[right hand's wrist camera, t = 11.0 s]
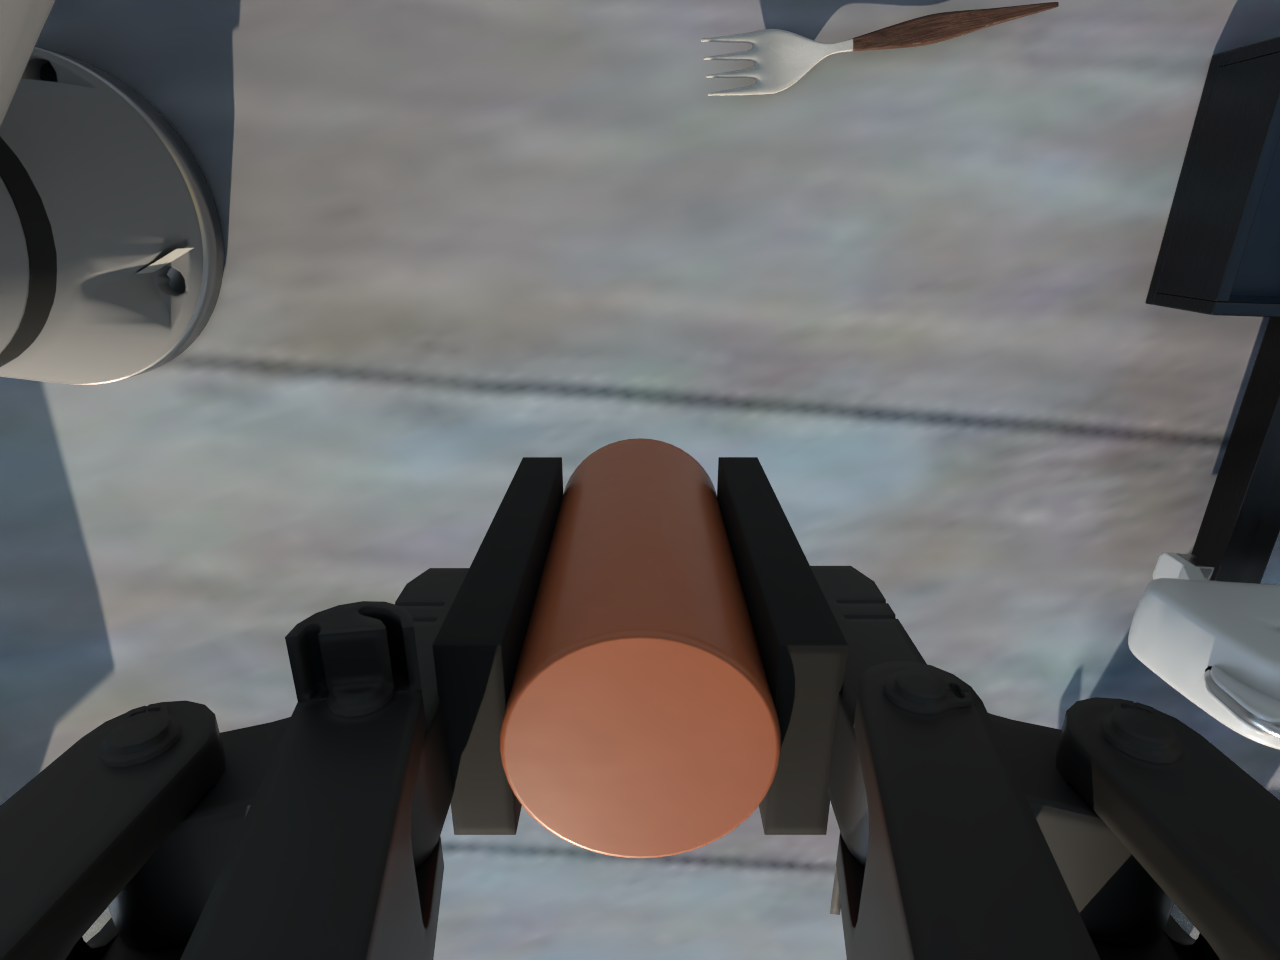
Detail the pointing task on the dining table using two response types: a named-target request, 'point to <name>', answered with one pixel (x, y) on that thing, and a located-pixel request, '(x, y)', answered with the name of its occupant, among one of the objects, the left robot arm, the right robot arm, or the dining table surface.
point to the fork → (848, 45)
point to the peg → (640, 666)
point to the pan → (1234, 288)
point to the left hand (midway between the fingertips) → (1259, 571)
